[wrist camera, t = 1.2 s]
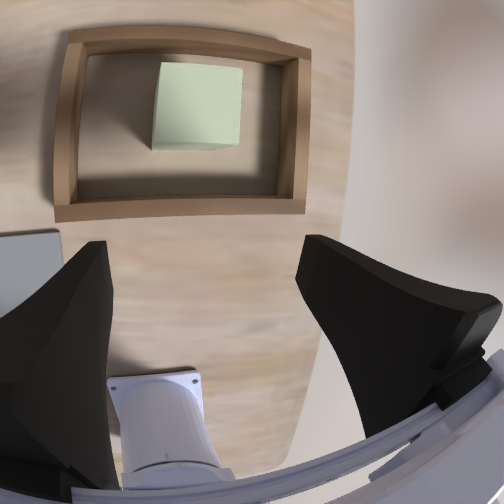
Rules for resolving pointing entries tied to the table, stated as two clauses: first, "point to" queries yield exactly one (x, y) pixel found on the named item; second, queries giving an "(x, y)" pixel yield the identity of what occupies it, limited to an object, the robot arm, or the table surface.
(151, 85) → the table surface
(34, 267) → the mat
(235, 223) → the table surface
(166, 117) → the wood block
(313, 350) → the table surface
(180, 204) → the box
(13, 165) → the table surface
